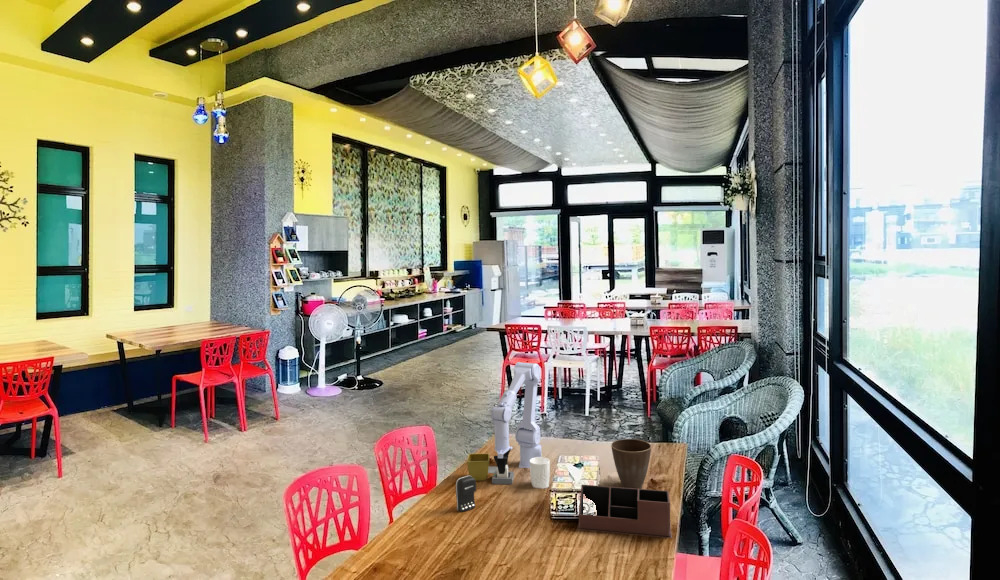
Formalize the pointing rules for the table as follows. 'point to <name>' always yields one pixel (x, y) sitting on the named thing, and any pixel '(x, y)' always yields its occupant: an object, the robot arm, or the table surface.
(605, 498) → the desk organizer
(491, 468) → the mat
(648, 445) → the plant pot
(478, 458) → the flower pot
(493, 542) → the table surface
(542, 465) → the white cup
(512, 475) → the socket housing
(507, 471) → the plug
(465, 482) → the battery charger
